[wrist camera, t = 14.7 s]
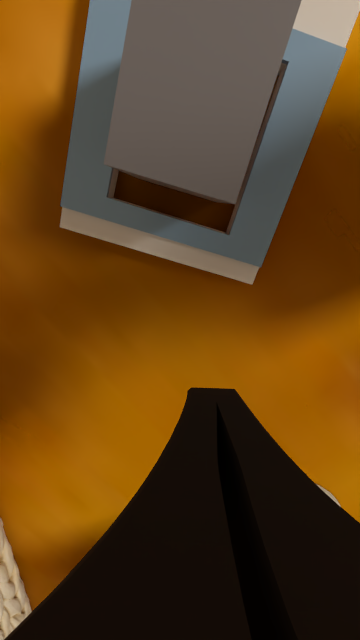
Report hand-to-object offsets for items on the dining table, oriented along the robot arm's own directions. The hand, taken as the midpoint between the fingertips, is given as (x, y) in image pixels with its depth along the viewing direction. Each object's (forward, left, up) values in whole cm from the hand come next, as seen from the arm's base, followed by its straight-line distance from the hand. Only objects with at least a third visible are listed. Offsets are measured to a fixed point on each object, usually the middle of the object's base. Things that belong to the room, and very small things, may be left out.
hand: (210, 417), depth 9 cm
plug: (+3, -8, -10) cm, 13 cm away
